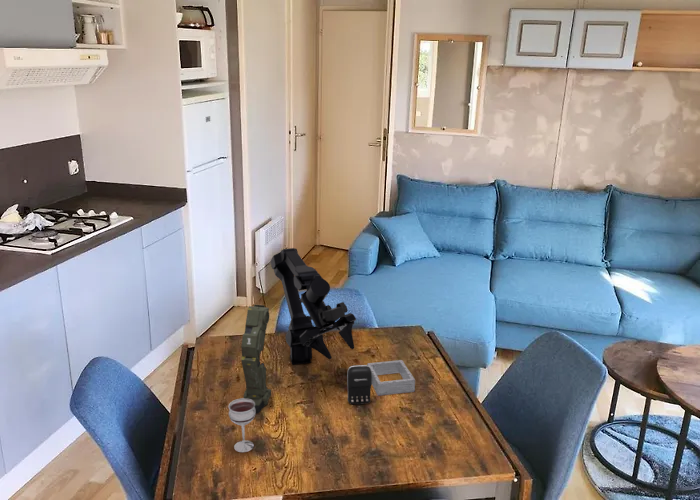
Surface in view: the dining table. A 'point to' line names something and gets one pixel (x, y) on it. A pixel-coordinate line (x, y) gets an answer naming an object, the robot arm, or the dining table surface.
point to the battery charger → (359, 384)
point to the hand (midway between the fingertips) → (342, 353)
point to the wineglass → (242, 419)
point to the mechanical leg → (255, 356)
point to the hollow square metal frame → (396, 385)
